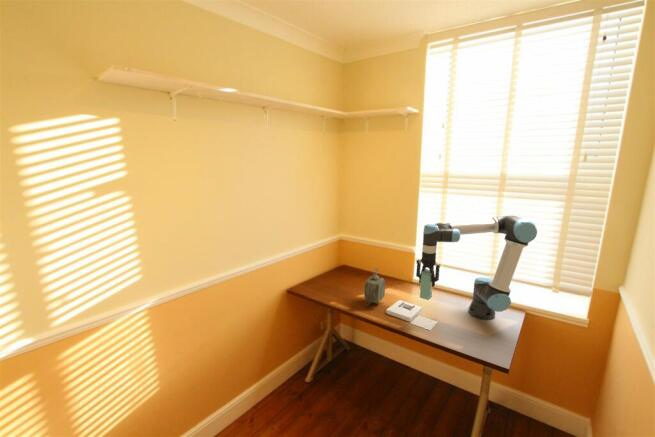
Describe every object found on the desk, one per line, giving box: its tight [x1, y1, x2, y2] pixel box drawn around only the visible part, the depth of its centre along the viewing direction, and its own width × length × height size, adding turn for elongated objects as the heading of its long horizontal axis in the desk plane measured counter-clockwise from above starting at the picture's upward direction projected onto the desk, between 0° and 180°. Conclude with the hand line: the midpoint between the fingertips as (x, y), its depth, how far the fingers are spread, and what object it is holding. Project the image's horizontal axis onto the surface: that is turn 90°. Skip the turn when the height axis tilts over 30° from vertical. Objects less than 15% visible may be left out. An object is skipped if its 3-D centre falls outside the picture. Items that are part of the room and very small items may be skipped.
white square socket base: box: [385, 299, 424, 323], centre depth 199 cm, size 16×18×3 cm
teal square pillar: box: [419, 268, 433, 301], centre depth 182 cm, size 6×6×16 cm
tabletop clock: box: [363, 267, 386, 307], centre depth 207 cm, size 14×9×25 cm, turn 149°
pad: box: [409, 315, 438, 331], centre depth 186 cm, size 12×12×1 cm
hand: (426, 290), depth 183 cm, fingers closed on teal square pillar, 5 cm apart
